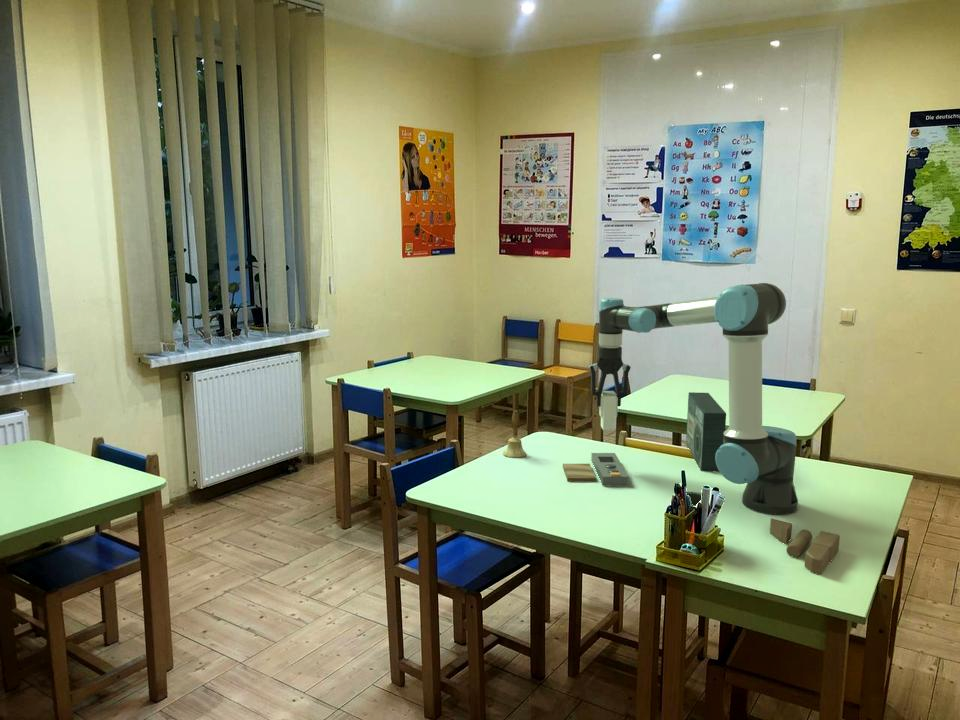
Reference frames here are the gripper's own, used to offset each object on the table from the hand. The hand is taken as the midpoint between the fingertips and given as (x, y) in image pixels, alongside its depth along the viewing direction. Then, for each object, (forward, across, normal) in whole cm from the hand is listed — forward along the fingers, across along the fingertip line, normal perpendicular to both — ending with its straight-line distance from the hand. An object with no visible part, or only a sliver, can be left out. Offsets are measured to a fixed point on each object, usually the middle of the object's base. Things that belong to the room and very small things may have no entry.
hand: (608, 415), depth 246 cm
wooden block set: (+19, -36, +64) cm, 76 cm away
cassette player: (+19, -36, -11) cm, 42 cm away
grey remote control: (+18, 0, +5) cm, 19 cm away
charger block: (+4, 0, 0) cm, 4 cm away
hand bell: (+18, +30, -15) cm, 38 cm away
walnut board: (+18, +10, +6) cm, 22 cm away
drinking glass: (+19, -12, +58) cm, 62 cm away
